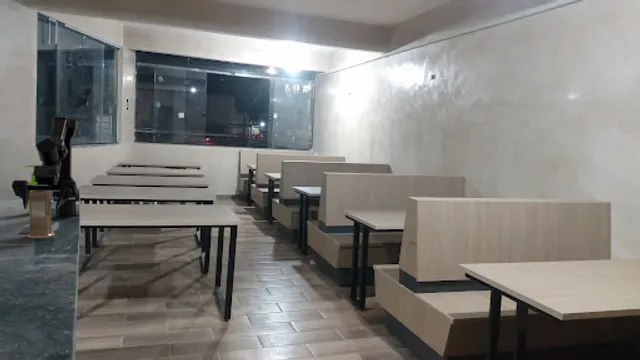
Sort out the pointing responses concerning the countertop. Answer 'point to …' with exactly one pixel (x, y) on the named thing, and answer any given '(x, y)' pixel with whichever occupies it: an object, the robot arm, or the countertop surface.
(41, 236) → the brown curved piece
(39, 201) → the walnut box
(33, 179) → the soap dispenser
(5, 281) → the countertop surface
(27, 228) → the gray tray
